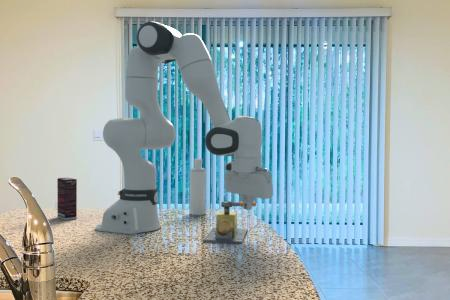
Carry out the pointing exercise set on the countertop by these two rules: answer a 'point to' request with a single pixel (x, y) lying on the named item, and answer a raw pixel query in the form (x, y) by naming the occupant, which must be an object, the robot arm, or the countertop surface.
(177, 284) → the countertop surface
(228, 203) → the lever
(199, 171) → the grey bottle
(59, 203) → the supplement box
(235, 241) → the valve
